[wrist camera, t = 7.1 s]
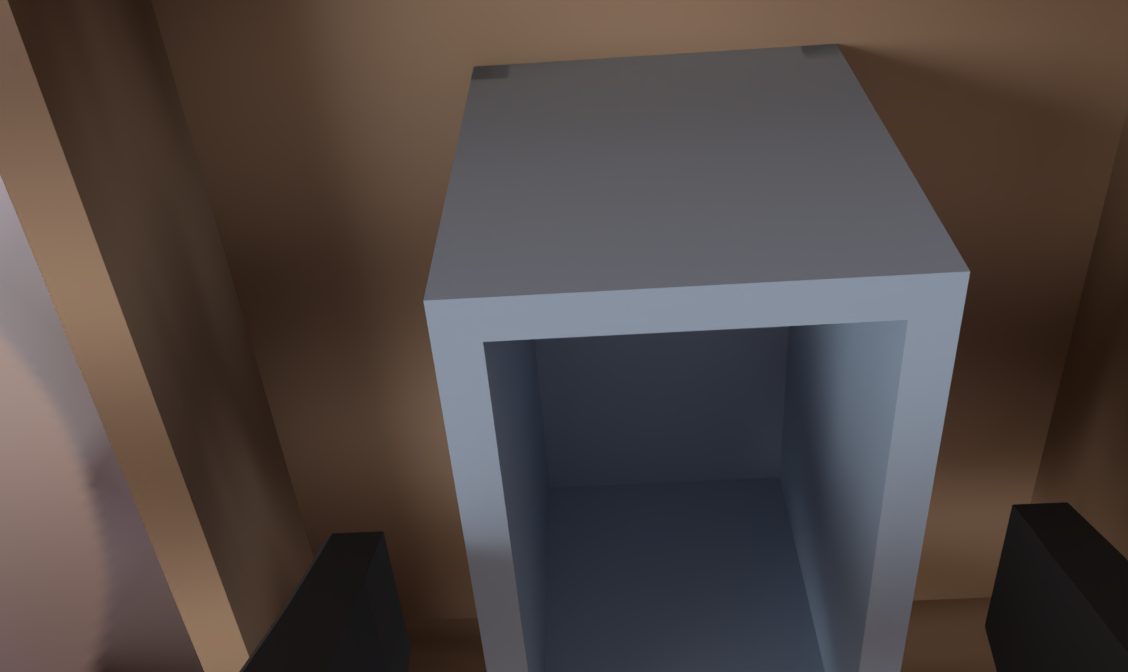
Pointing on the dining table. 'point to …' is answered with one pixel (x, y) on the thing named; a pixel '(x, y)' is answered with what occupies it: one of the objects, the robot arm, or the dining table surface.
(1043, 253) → the big crate
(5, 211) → the dining table surface
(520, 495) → the box
